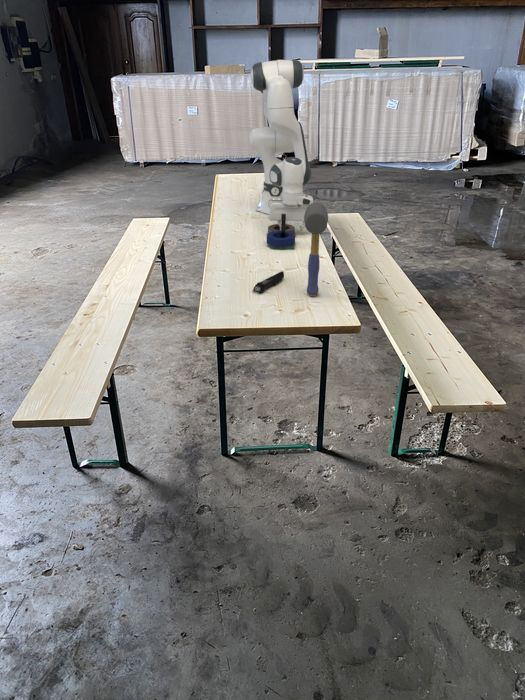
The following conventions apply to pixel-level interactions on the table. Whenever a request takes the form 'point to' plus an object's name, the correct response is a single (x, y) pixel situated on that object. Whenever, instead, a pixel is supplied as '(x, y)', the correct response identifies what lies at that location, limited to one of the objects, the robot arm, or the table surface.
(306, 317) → the table surface
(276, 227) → the walnut ring
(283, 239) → the navy ring
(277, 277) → the electric trimmer
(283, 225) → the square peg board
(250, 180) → the table surface
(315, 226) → the rubber mallet
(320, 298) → the table surface
